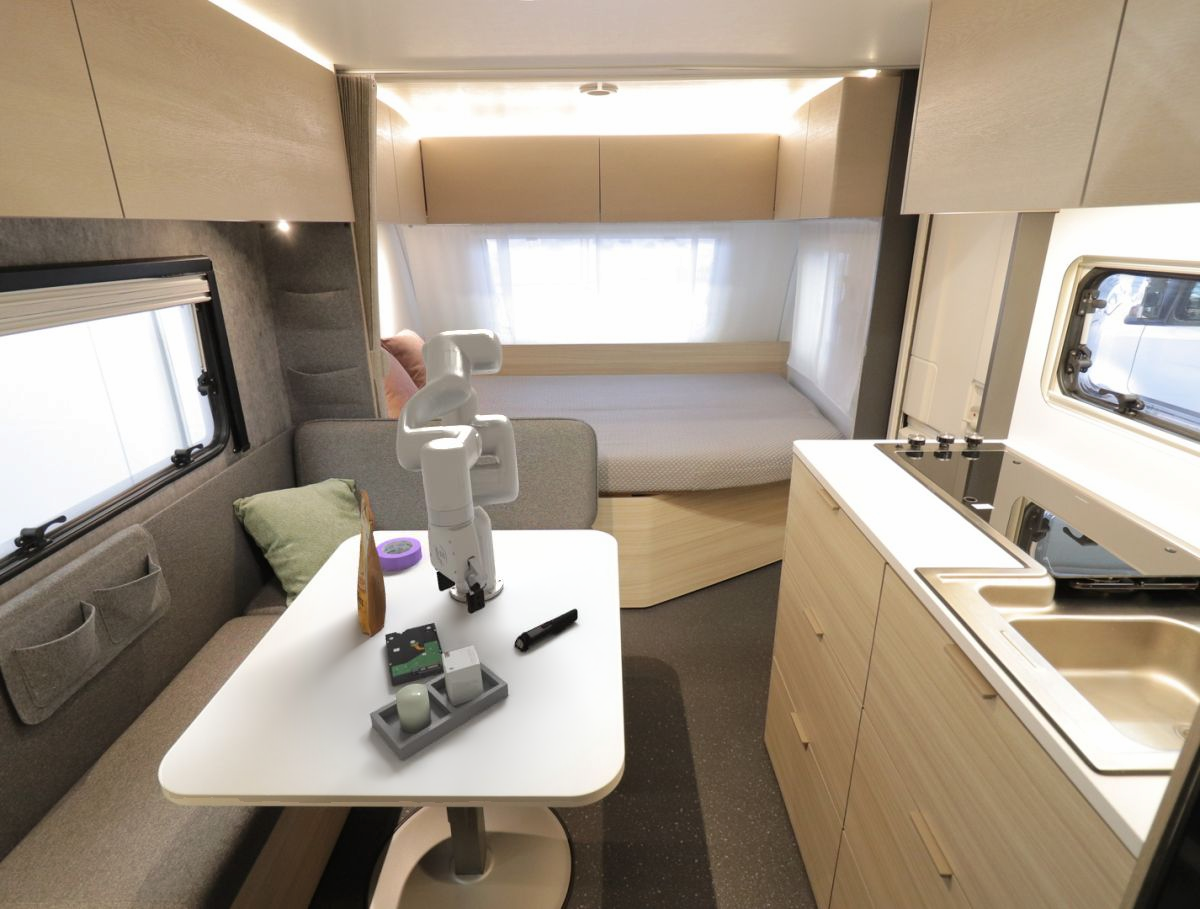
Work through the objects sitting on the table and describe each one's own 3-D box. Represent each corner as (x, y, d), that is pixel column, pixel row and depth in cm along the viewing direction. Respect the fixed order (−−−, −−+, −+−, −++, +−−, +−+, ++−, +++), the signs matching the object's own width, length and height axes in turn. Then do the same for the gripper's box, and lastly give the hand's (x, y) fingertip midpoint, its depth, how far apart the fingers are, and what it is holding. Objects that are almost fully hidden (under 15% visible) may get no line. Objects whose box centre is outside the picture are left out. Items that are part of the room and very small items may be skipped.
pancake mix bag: (392, 591, 146) (375, 483, 137) (392, 637, 129) (372, 517, 120) (363, 596, 144) (343, 488, 135) (359, 643, 127) (335, 522, 118)
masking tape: (429, 550, 166) (427, 537, 165) (411, 571, 155) (409, 558, 154) (388, 548, 168) (386, 536, 167) (368, 570, 157) (366, 556, 156)
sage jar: (395, 722, 105) (390, 694, 103) (422, 707, 108) (418, 679, 106) (409, 738, 101) (404, 709, 99) (437, 722, 105) (433, 693, 103)
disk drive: (385, 645, 127) (392, 689, 114) (383, 634, 126) (390, 677, 113) (435, 632, 131) (447, 673, 118) (434, 621, 130) (446, 661, 117)
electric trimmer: (582, 624, 132) (582, 611, 131) (523, 654, 123) (522, 641, 122) (571, 617, 135) (571, 604, 134) (513, 646, 125) (512, 633, 124)
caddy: (402, 761, 98) (399, 748, 97) (372, 725, 105) (369, 713, 104) (508, 695, 111) (507, 683, 110) (475, 667, 119) (474, 656, 118)
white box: (484, 697, 110) (480, 663, 108) (451, 707, 108) (446, 673, 105) (477, 676, 115) (473, 644, 113) (445, 686, 113) (440, 653, 111)
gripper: (405, 503, 105) (418, 588, 111) (458, 536, 93) (469, 629, 99) (444, 490, 110) (454, 572, 116) (499, 520, 98) (507, 610, 104)
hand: (461, 598), depth 108 cm, fingers open, 9 cm apart
